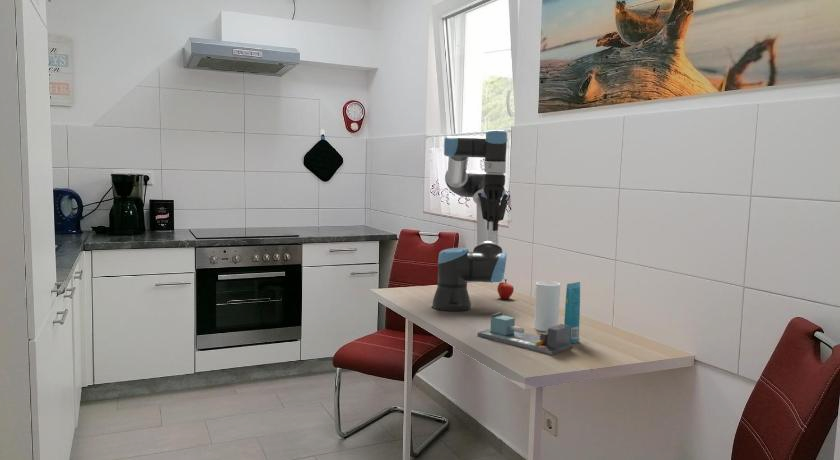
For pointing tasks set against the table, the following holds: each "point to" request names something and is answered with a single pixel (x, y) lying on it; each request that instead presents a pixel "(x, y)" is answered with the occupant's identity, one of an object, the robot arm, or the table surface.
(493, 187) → the robot arm
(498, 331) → the block
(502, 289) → the apple
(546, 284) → the cup
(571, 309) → the tube
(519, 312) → the table surface
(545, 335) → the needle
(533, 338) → the rail base
